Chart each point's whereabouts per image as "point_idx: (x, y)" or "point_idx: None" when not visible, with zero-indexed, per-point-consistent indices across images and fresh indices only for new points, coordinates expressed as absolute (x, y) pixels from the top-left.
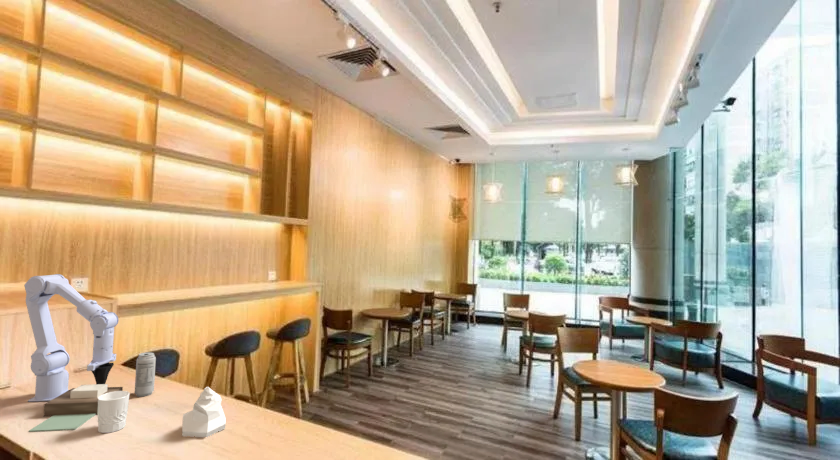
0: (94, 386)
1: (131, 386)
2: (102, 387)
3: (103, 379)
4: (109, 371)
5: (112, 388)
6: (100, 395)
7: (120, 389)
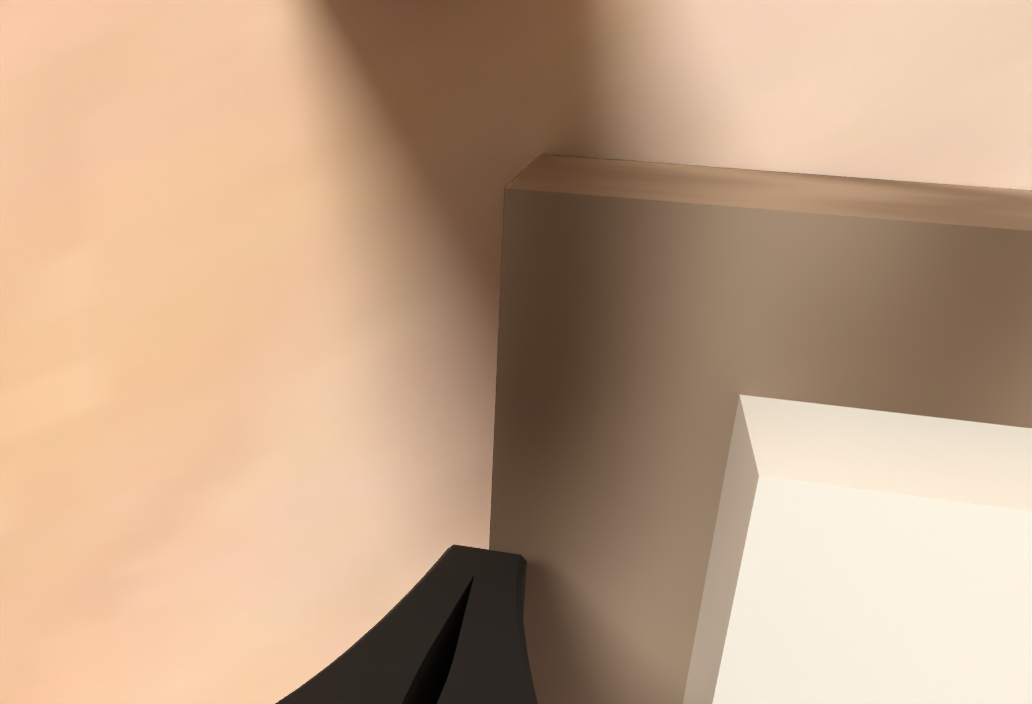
0: (877, 675)
1: (40, 216)
2: (1014, 506)
3: (520, 643)
4: (297, 698)
5: (583, 354)
6: (1012, 427)
7: (599, 191)
